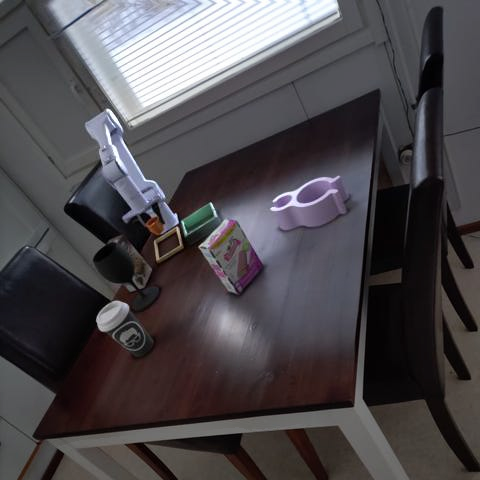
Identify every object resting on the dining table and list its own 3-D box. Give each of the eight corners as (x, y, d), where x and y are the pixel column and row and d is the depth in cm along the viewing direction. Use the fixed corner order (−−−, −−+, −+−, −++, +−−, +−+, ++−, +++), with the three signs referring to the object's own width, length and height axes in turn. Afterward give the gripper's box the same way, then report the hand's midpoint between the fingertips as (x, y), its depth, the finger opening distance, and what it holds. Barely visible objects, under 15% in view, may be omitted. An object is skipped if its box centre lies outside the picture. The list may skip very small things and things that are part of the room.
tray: (156, 244, 166) (153, 241, 165) (179, 229, 164) (177, 226, 163) (159, 264, 154) (156, 261, 153) (184, 249, 153) (181, 245, 152)
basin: (186, 230, 162) (180, 221, 159) (216, 211, 160) (210, 202, 157) (191, 246, 152) (184, 236, 149) (223, 226, 150) (217, 216, 147)
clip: (277, 237, 129) (267, 218, 125) (285, 211, 137) (275, 192, 133) (345, 218, 119) (336, 197, 115) (349, 191, 127) (341, 170, 123)
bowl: (153, 232, 157) (145, 222, 155) (165, 224, 157) (158, 214, 154) (154, 238, 153) (146, 228, 151) (167, 230, 153) (159, 220, 150)
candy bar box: (240, 295, 119) (208, 249, 109) (228, 292, 123) (196, 247, 113) (265, 266, 122) (237, 219, 112) (253, 263, 126) (224, 217, 116)
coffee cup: (163, 332, 125) (129, 295, 116) (149, 360, 120) (113, 324, 110) (138, 336, 130) (104, 301, 121) (124, 362, 125) (87, 328, 116)
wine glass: (136, 316, 138) (93, 269, 126) (129, 302, 146) (87, 257, 134) (163, 294, 139) (122, 246, 127) (154, 282, 147) (115, 235, 135)
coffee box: (145, 287, 148) (113, 251, 138) (130, 292, 151) (98, 257, 141) (153, 269, 154) (123, 233, 144) (138, 274, 157) (108, 239, 147)
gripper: (113, 212, 144) (139, 244, 152) (151, 187, 142) (175, 221, 150) (114, 203, 149) (139, 234, 157) (150, 179, 147) (173, 212, 155)
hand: (157, 227), depth 154 cm, fingers closed on bowl, 5 cm apart
